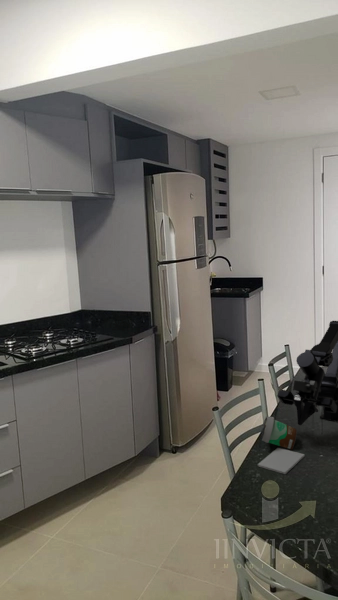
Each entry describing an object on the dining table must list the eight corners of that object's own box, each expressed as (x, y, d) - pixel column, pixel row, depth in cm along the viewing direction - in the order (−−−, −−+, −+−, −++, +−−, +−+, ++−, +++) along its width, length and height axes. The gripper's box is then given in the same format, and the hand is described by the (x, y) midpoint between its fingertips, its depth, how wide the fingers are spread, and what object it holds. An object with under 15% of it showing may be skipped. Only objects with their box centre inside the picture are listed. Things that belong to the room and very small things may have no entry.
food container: (299, 434, 147) (267, 423, 148) (292, 452, 148) (261, 441, 150) (296, 419, 159) (267, 409, 160) (290, 435, 160) (262, 425, 161)
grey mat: (278, 449, 151) (277, 447, 151) (304, 456, 145) (304, 454, 145) (257, 466, 141) (257, 464, 141) (285, 474, 135) (285, 472, 135)
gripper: (278, 366, 160) (264, 408, 153) (332, 373, 148) (319, 419, 141) (289, 382, 167) (276, 423, 160) (342, 390, 155) (330, 434, 148)
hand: (299, 424), depth 152 cm, fingers closed
